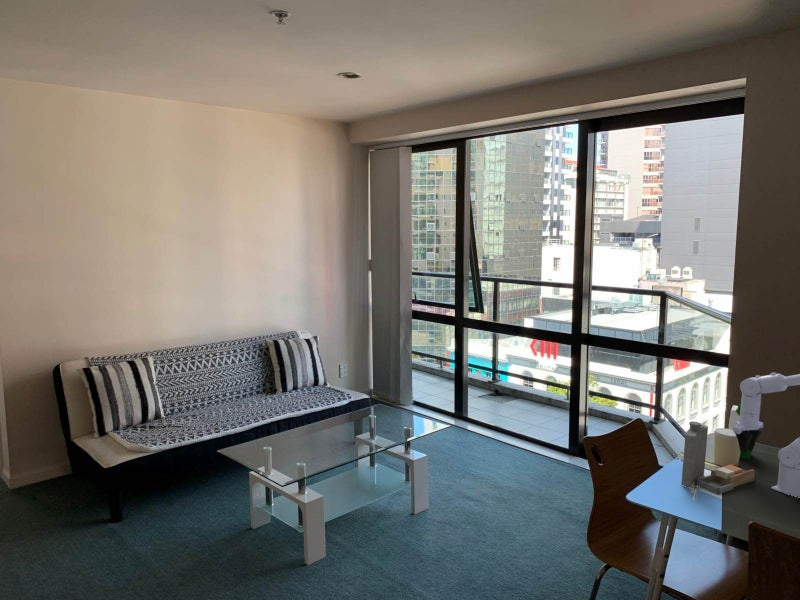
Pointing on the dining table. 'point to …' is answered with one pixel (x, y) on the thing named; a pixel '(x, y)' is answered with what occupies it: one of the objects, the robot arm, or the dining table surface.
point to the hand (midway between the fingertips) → (746, 450)
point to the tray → (713, 485)
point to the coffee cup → (726, 447)
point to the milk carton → (732, 423)
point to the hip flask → (694, 453)
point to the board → (734, 477)
